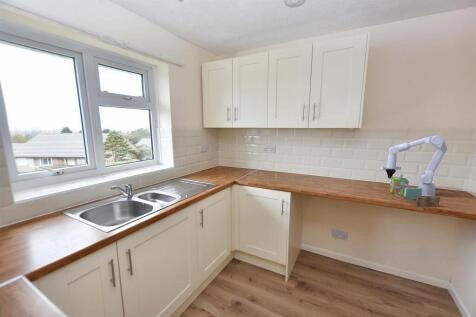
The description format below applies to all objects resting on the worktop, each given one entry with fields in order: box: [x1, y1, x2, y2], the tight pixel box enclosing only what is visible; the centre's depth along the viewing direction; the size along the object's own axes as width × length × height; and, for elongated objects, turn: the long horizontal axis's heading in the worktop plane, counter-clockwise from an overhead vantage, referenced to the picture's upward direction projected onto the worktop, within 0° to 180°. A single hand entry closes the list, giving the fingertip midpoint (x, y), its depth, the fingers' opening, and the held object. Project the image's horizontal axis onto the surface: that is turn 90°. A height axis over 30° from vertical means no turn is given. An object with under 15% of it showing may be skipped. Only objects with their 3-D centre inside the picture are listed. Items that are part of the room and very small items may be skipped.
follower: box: [403, 187, 423, 200], centre depth 142 cm, size 11×2×8 cm, turn 90°
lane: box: [394, 193, 441, 207], centre depth 140 cm, size 14×19×6 cm
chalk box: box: [389, 174, 410, 196], centre depth 155 cm, size 9×9×15 cm
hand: (389, 178), depth 164 cm, fingers closed
